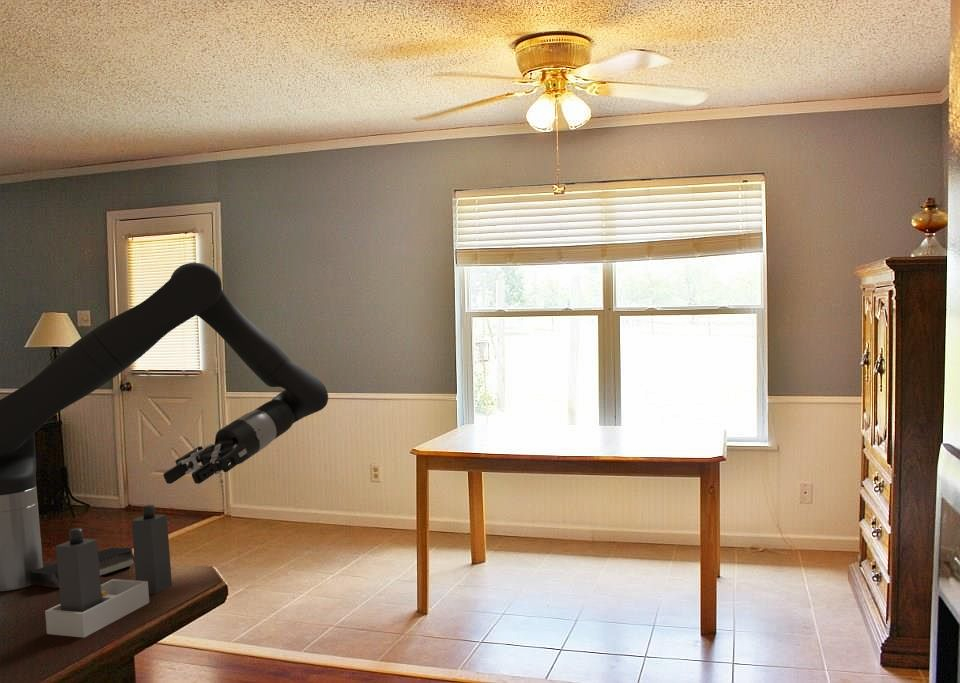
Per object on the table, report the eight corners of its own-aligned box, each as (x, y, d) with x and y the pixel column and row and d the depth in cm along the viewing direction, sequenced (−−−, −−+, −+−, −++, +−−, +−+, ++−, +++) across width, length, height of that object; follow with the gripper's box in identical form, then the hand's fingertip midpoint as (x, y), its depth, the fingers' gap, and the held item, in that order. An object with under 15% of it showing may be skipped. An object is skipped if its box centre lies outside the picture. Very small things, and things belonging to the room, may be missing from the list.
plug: (156, 597, 138) (149, 509, 138) (137, 595, 140) (130, 508, 139) (172, 588, 142) (165, 503, 141) (153, 587, 143) (146, 502, 143)
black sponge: (55, 595, 143) (53, 575, 143) (30, 587, 148) (28, 567, 147) (140, 567, 156) (138, 548, 156) (114, 561, 161) (113, 543, 161)
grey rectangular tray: (84, 640, 121) (82, 610, 121) (47, 636, 124) (44, 606, 123) (149, 605, 135) (147, 577, 134) (114, 602, 137) (112, 575, 137)
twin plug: (83, 632, 123) (75, 534, 122) (62, 630, 124) (54, 533, 124) (103, 621, 127) (96, 526, 126) (82, 620, 128) (75, 525, 127)
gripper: (216, 420, 161) (148, 461, 148) (263, 416, 153) (196, 459, 140) (230, 454, 163) (165, 497, 150) (278, 452, 154) (212, 498, 142)
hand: (180, 479), depth 145 cm, fingers open, 8 cm apart
